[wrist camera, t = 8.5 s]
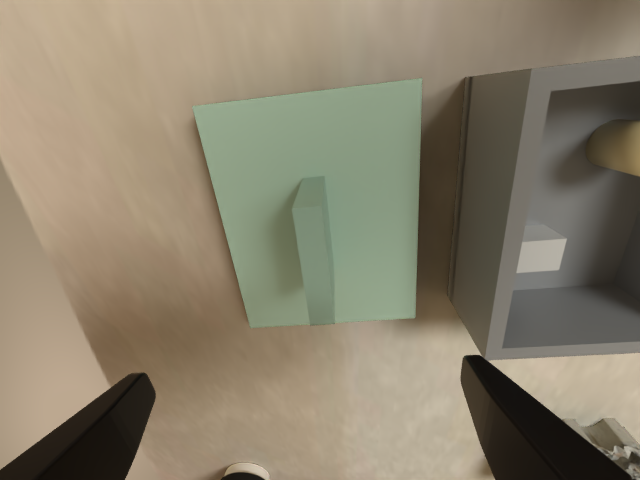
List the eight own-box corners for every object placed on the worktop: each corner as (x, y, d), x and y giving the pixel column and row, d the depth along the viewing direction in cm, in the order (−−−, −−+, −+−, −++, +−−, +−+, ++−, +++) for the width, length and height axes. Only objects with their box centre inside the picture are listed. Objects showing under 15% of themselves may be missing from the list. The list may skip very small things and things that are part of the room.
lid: (412, 79, 16) (462, 70, 10) (408, 300, 22) (438, 380, 16) (206, 104, 17) (134, 110, 11) (256, 310, 23) (228, 389, 17)
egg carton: (491, 461, 31) (512, 511, 27) (509, 411, 28) (536, 460, 24) (601, 464, 30) (638, 516, 27) (633, 414, 27) (680, 464, 23)
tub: (691, 50, 15) (887, 25, 10) (610, 284, 21) (704, 349, 16) (465, 77, 16) (532, 68, 11) (447, 295, 22) (484, 360, 17)
